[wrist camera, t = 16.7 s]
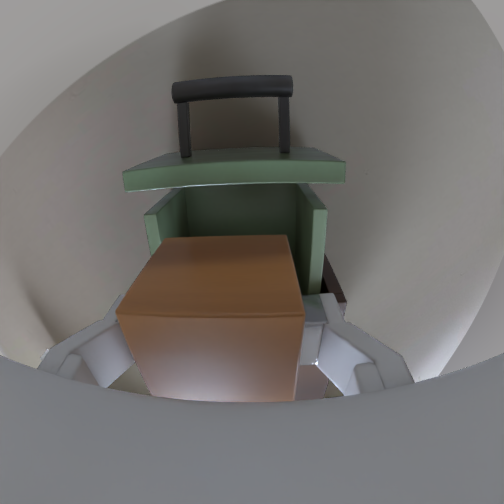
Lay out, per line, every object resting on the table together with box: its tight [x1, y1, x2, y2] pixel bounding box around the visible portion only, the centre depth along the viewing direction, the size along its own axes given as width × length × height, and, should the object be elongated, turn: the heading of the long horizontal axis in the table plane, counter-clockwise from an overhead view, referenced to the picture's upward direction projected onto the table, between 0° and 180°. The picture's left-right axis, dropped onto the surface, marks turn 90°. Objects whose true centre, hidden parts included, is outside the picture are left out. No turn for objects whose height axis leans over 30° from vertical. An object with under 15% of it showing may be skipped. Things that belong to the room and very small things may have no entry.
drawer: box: [123, 75, 346, 295], centre depth 19 cm, size 20×12×8 cm, turn 2°
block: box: [115, 235, 306, 402], centre depth 9 cm, size 4×4×4 cm
